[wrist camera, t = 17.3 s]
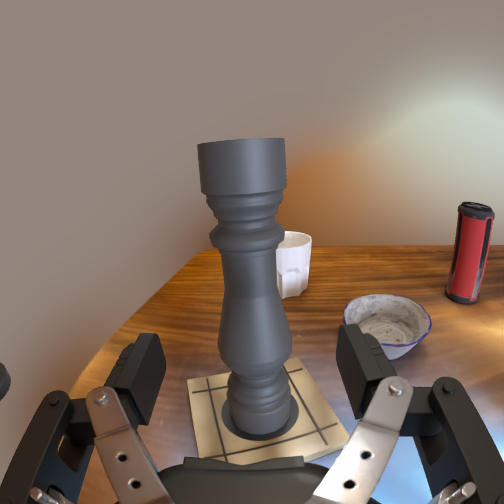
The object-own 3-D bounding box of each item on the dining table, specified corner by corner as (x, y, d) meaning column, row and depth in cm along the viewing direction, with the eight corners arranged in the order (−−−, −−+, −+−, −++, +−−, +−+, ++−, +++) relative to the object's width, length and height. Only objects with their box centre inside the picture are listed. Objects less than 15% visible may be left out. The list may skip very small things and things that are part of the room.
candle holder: (285, 387, 29) (280, 140, 21) (295, 430, 23) (298, 136, 15) (229, 392, 29) (198, 146, 20) (230, 436, 23) (185, 144, 15)
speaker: (440, 286, 49) (453, 199, 43) (470, 287, 47) (485, 202, 41) (450, 304, 43) (467, 207, 37) (482, 305, 40) (501, 211, 34)
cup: (248, 293, 54) (245, 243, 51) (275, 273, 62) (273, 229, 59) (297, 306, 49) (297, 252, 45) (318, 282, 57) (319, 234, 53)
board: (206, 485, 19) (203, 479, 18) (189, 387, 32) (186, 378, 31) (348, 446, 22) (351, 438, 22) (297, 364, 35) (298, 355, 34)
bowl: (431, 371, 29) (442, 342, 28) (338, 371, 33) (342, 342, 31) (414, 318, 41) (420, 292, 39) (340, 316, 44) (343, 290, 43)
